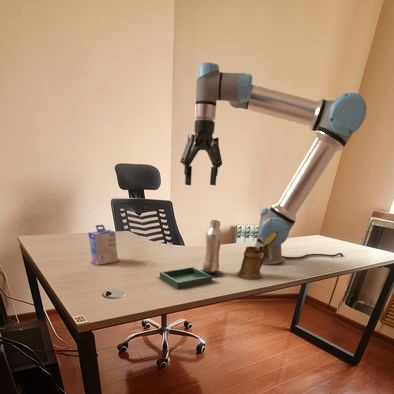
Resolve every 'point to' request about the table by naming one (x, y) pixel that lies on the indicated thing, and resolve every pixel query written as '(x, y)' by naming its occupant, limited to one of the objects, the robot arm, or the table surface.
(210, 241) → the silver metal bottle
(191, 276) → the tray
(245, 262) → the wooden mug
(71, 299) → the table surface
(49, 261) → the table surface
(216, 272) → the coaster
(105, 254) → the ink cartridge box
